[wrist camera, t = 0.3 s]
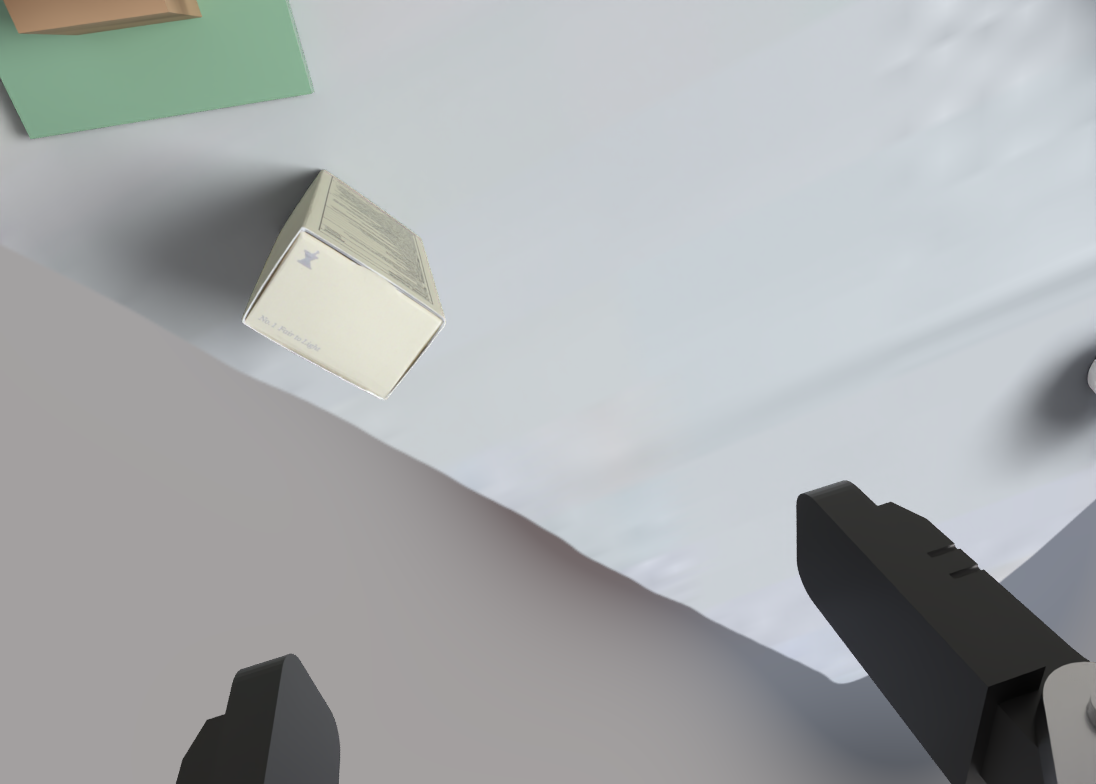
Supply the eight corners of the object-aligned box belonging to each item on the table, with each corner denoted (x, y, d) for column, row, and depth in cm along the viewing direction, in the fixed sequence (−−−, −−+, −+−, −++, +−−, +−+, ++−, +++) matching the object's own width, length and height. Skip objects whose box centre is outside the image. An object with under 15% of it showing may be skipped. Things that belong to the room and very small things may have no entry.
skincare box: (276, 234, 33) (228, 321, 23) (324, 163, 32) (296, 219, 22) (383, 303, 36) (383, 408, 26) (430, 239, 35) (450, 321, 25)
